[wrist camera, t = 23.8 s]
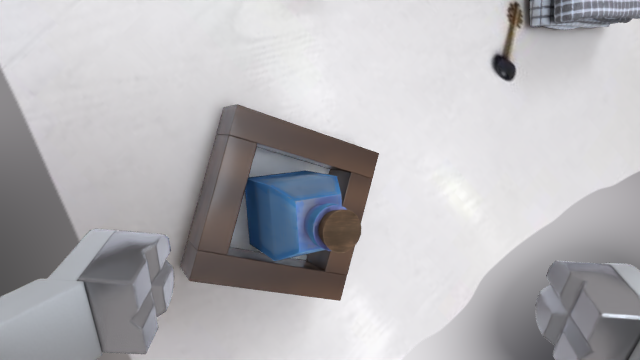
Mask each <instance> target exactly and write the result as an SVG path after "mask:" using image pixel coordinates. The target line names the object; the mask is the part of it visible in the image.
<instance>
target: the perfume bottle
mask: <svg viewBox="0 0 640 360" xmlns="http://www.w3.org/2000/svg"><path fill="white" fill-rule="evenodd" d="M245 194H246V205H247V216H248V228H249V239H250V244H251V245H252V246H254V247H255V248H257V249H258V250H260V251H261V252H262V253H264V254H265V255H267V256H268V257H270V258H271V259H273V260H274V261H277V260H282V259H286V258H291V257H295V256H300V255H304V254H309V253H313V252H318V251H322V250H328V251H333V252H336V253H345V252H347V251H349V250H351V249H352V248H353V247H354V246H355V245H356V243H357V242H358V240H359V238H360V235H361V224H360V220H359V218H358V216H357V215H356V214H355V213H354V212H352V211H350V210H347V209H346V208H345V207H342V199H341V191H340V187H339V183H338V179H337V176H333V175H327V174H321V173H315V172H309V171H299V172H291V173H283V174H275V175H267V176H259V177H251V178H248V180H247V184H246V187H245Z"/></svg>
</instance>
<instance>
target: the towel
mask: <svg viewBox="0 0 640 360" xmlns="http://www.w3.org/2000/svg"><path fill="white" fill-rule="evenodd" d="M530 18H531V20H530V26H531V27H536V26H538V27H539V26H545V27H548V28H555V29H562V30H566V29H573V28H578V27H588V28H589V27H590V28H593V27H608V26H609V25H610V24H611V23H618V22H621V23H622V22H623V23H627V22H629V21H630V20H631V19H632V18H635V19H638V18H640V0H530Z"/></svg>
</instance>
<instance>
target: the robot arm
mask: <svg viewBox="0 0 640 360" xmlns="http://www.w3.org/2000/svg"><path fill="white" fill-rule="evenodd" d="M170 251H171V248H170V242H169V238H168V237H167V236H166V235H165V234H155V233H144V232H133V231H121V230H119V231H117V230H107V229H93V230H90V231H89V232H88V233H87V234H86V235H85V236H84V237H83V239H82V240H81V241H80V242H79V243H78V244H77V245H76V247H75V248H74V249H73V250H72V251H71V252H70V254H69V255H68V256H67V257H66V258H65V259H64V260H63V261H62V263H61V264H60V265H59V266H58V267H57V268H56V269H55V270H54V272H53V273H52V274H51V275H50V276H49V277H48V278H47V279H37V280H35V281H33V282H31V283H29V284H27V285H24V286H22V287H20V288H18V289H16V290H14V291H12V292H10V293H7V294H5V295H3V296H1V297H0V360H97V359H98V358H99V357H100V356H102V352H104V353H128V354H146V353H147V351H148V349H149V347H150V344H151V342H152V340H153V338H154V336H155V334H156V332H157V330H158V322H157V317H158V316H160V315H161V314H163V313H164V312H166V310H167V308H168V306H169V304H170V301H171V298H172V293H173V289H174V270H173V267H172V265H171V264H170V263H169V262H168V261H167V260H166V259H167V257H168V255H169V253H170ZM546 276H547V279H548V281H549V283H550V285H548V286H547V287H546V288H544V289H543V290H542V291H540V292H539V295H538V298H537V302H536V320H537V324H538V327H539V329H540V331H541V333H542V335H543V337H545V338H546V339H547V340H548V341H550V342H551V343H552V344H554V345H555V349H554V352H553V356H554V358H555V360H640V271H639V270H638V268H636V267H634V266H632V265H630V264H615V263H604V264H598V263H582V262H581V263H580V262H565V261H555V262H554V263H553V264H552V265H551V266H550V267H549V270H548V272H547V275H546Z"/></svg>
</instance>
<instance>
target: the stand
mask: <svg viewBox="0 0 640 360" xmlns="http://www.w3.org/2000/svg"><path fill="white" fill-rule="evenodd" d="M256 147H260V148H263V149H266V150H270V151H273V152H276V153H279V154H283V155H286V156H289V157H293V158H296V159H299V160H303V161H306V162H309V163H313V164H316V165H319V166H322V167H326V168H329V169H330V173H329V175H333V176H337V179H338V183H339V187H340V191H341V199H342V207H345V208H346V209H347V210H350V211H352V212H354V213H355V214H356V215H357V216H358V218H359V220H360V224H361V220H362V216H363V212H364V209H365V205H366V201H367V197H368V193H369V189H370V186H371V182H372V178H373V174H374V170H375V166H376V163H377V159H378V155H379V153H376V152H374V151H371V150H368V149H365V148H362V147H359V146H356V145H353V144H350V143H347V142H345V141H342V140H339V139H336V138H333V137H330V136H327V135H324V134H321V133H319V132H316V131H313V130H310V129H307V128H304V127H301V126H298V125H295V124H292V123H290V122H287V121H284V120H281V119H278V118H275V117H272V116H269V115H266V114H263V113H261V112H258V111H255V110H252V109H249V108H246V107H243V106H240V105H233V106H228V107H224V108H223V112H222V116H221V119H220V123H219V126H218V130H217V135H216V138H215V141H214V145H213V149H212V152H211V156H210V160H209V163H208V167H207V171H206V174H205V178H204V182H203V185H202V189H201V192H200V196H199V200H198V203H197V207H196V211H195V214H194V218H193V222H192V225H191V229H190V233H189V236H188V240H187V244H186V247H185V251H184V255H183V258H182V262H181V265H180V268H181V269H182V271H183V272H184V274H185V275H186V277H187V278H188V280H189V281H193V282H201V283H208V284H216V285H224V286H231V287H239V288H247V289H255V290H262V291H270V292H278V293H285V294H293V295H301V296H308V297H316V298H324V299H331V300H339V301H340V300H341V296H342V292H343V288H344V285H345V281H346V277H347V274H348V270H349V266H350V262H351V258H352V254H353V251H354V247H355V246H354V247H353V248H352V249H351V250H349V251H347V252H345V253H336V252H333V251H328V250H322V251H318V252H313V253H309V254H308V256H307V261H306V260H300V259H294V258H286V259H282V260H277V261H274V260H273V259H271V258H270V257H268V256H267V255H265V254H264V253H260V252H255V251H249V250H243V249H237V248H232V247H229V246H230V243H231V239H232V235H233V232H234V228H235V224H236V221H237V217H238V213H239V209H240V206H241V202H242V198H243V195H244V191H245V187H246V184H247V180H248V176H249V173H250V169H251V165H252V161H253V158H254V154H255V150H256Z"/></svg>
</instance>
